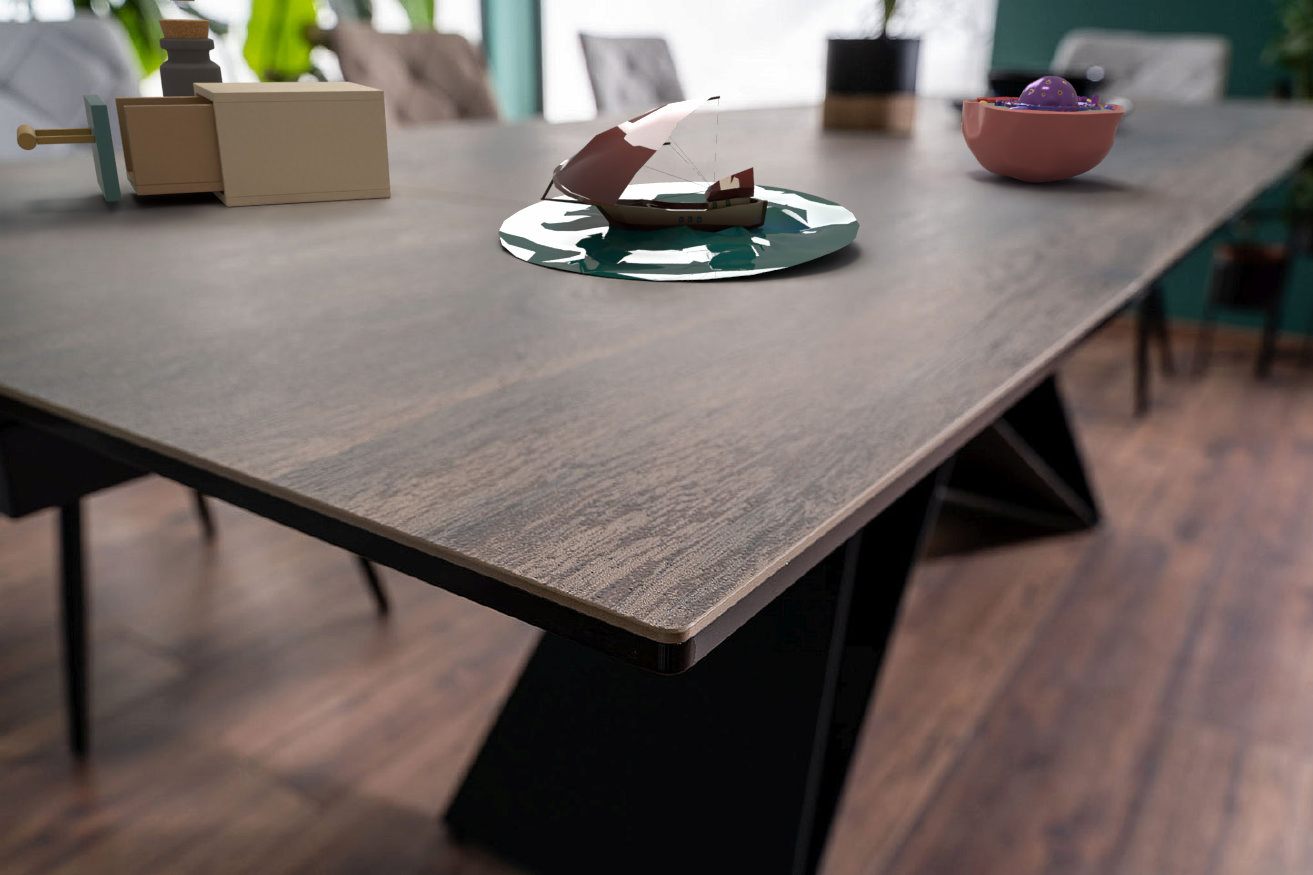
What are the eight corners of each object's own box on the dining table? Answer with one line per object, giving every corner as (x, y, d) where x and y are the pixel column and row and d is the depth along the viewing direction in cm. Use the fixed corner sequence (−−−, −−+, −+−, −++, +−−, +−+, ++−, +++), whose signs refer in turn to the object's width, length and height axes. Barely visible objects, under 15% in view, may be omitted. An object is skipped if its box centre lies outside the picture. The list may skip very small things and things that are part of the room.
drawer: (28, 206, 88) (9, 106, 85) (27, 186, 97) (10, 95, 94) (272, 192, 97) (263, 102, 94) (250, 175, 106) (240, 92, 103)
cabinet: (227, 206, 95) (213, 92, 91) (206, 186, 105) (192, 82, 101) (390, 197, 101) (383, 90, 98) (356, 178, 112) (348, 81, 108)
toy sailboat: (504, 209, 97) (493, 79, 92) (811, 193, 99) (815, 66, 94) (494, 312, 72) (478, 142, 67) (905, 288, 74) (918, 121, 69)
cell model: (1096, 172, 130) (1113, 73, 126) (1124, 197, 112) (1144, 82, 108) (952, 164, 134) (963, 68, 129) (956, 187, 115) (970, 76, 111)
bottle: (232, 175, 112) (214, 20, 107) (171, 176, 110) (150, 19, 105) (233, 167, 117) (216, 19, 112) (175, 168, 116) (154, 18, 110)
